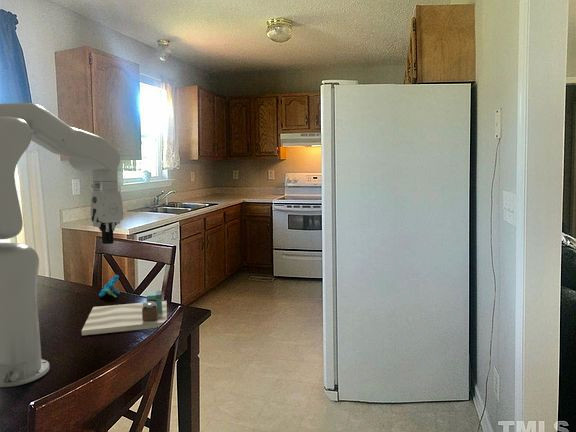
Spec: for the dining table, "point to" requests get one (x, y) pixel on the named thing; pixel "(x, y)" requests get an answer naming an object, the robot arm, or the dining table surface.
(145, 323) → the board
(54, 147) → the robot arm
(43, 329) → the dining table surface
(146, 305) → the disc
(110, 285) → the gear
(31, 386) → the dining table surface
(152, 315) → the link
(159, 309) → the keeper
